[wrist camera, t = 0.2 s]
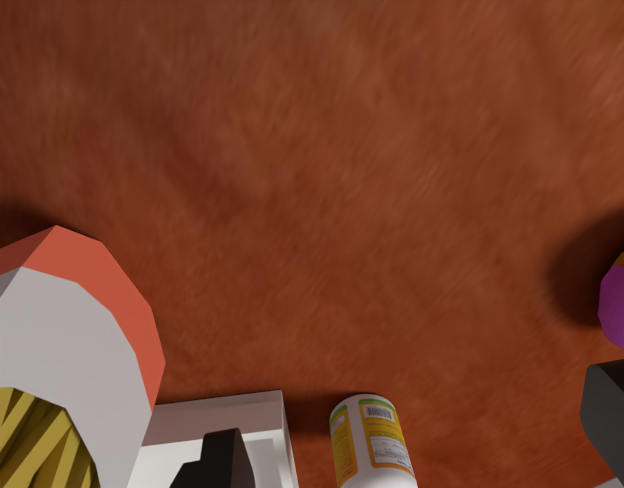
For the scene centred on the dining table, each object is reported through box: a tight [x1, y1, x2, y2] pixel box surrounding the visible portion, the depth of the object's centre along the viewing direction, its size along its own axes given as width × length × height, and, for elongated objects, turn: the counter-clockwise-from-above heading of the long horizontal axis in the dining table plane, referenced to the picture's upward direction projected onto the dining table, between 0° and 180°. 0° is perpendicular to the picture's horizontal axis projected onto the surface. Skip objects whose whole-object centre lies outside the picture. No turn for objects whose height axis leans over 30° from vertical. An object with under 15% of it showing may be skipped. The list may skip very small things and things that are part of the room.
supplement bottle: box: [329, 394, 418, 488], centre depth 33 cm, size 5×5×10 cm
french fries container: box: [0, 225, 166, 488], centre depth 22 cm, size 5×11×18 cm, turn 22°
